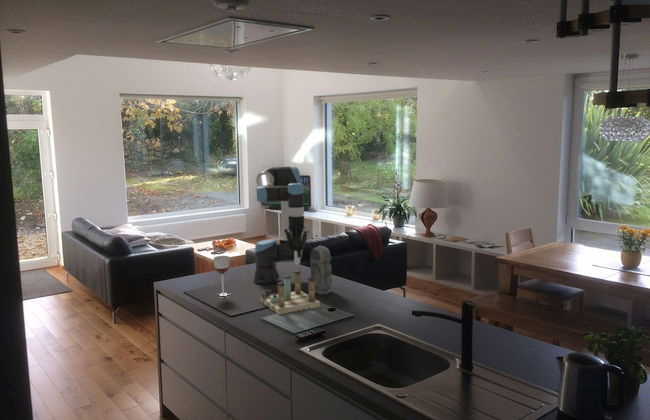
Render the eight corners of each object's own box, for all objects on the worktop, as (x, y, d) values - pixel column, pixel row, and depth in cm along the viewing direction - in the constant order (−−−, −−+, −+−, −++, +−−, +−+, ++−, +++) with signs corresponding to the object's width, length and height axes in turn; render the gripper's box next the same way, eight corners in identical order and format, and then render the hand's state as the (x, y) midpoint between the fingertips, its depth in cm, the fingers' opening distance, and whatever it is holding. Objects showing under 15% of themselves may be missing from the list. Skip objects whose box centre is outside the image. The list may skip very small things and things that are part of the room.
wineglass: (232, 292, 290) (231, 255, 287) (228, 297, 282) (226, 259, 279) (218, 292, 291) (216, 255, 288) (213, 297, 282) (211, 259, 280)
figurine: (323, 295, 282) (323, 248, 279) (306, 290, 293) (305, 244, 289) (337, 292, 289) (337, 245, 285) (320, 286, 299) (319, 241, 296)
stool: (261, 301, 274) (260, 275, 272) (300, 295, 284) (300, 269, 282) (278, 314, 255) (277, 285, 253) (320, 306, 265) (319, 279, 263)
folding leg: (274, 303, 262) (273, 281, 261) (268, 301, 265) (267, 279, 264) (293, 297, 270) (292, 276, 269) (287, 295, 273) (287, 274, 272)
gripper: (312, 215, 262) (312, 263, 265) (289, 213, 268) (290, 260, 271) (303, 217, 255) (304, 266, 259) (280, 215, 262) (281, 264, 265)
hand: (297, 263), depth 265 cm, fingers closed
